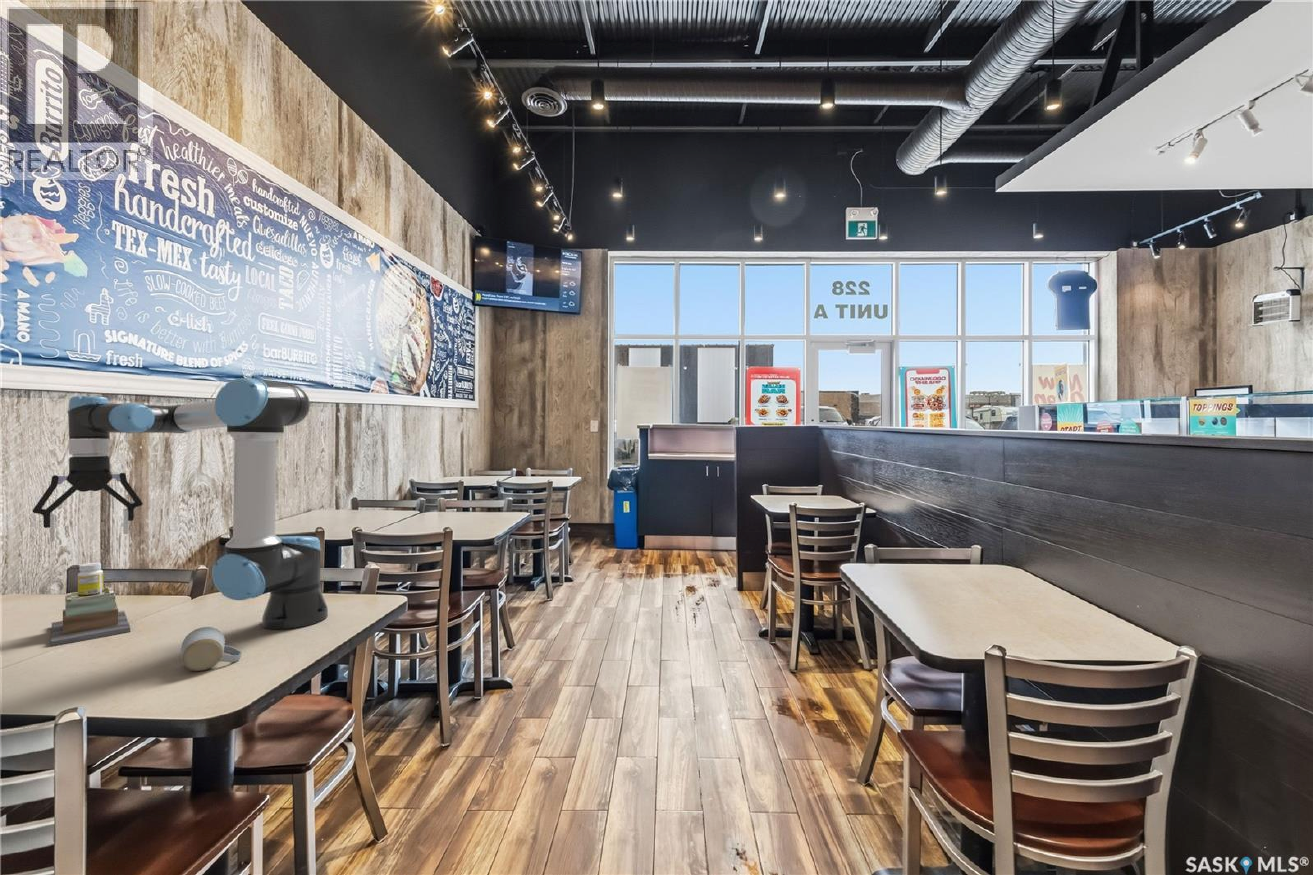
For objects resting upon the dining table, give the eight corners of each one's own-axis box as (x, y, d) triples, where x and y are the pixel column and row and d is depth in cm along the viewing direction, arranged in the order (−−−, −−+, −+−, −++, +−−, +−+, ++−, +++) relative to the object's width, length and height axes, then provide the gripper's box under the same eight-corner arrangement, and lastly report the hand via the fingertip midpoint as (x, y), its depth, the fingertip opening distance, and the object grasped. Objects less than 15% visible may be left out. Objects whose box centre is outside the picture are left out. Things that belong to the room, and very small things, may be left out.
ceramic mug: (180, 677, 119) (181, 640, 119) (181, 664, 126) (181, 629, 126) (242, 665, 126) (243, 630, 126) (240, 654, 132) (241, 620, 133)
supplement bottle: (89, 593, 151) (88, 562, 151) (108, 593, 151) (108, 561, 151) (72, 599, 146) (72, 566, 146) (92, 598, 147) (92, 566, 146)
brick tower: (130, 631, 147) (130, 595, 147) (51, 646, 137) (50, 607, 137) (124, 615, 161) (123, 581, 161) (51, 627, 151) (51, 591, 150)
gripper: (151, 454, 160) (152, 529, 160) (18, 456, 142) (19, 541, 142) (154, 454, 155) (155, 532, 155) (17, 457, 137) (18, 545, 137)
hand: (90, 537), depth 149 cm, fingers open, 13 cm apart
